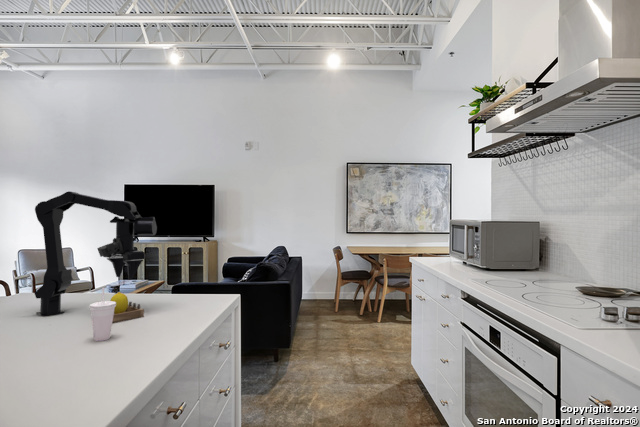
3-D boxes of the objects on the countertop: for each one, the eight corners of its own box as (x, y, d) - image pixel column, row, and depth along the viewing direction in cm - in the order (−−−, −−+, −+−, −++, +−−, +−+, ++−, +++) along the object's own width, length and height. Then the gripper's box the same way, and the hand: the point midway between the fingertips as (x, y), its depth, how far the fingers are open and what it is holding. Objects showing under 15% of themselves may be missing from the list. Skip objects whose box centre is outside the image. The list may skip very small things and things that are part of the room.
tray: (94, 318, 118) (94, 306, 118) (128, 311, 127) (128, 300, 127) (109, 324, 111) (109, 311, 111) (143, 316, 120) (143, 305, 120)
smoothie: (86, 343, 93) (88, 290, 93) (89, 336, 99) (91, 287, 99) (114, 340, 96) (116, 288, 96) (116, 333, 102) (117, 285, 102)
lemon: (119, 318, 116) (120, 294, 116) (105, 317, 117) (105, 293, 117) (131, 314, 121) (132, 291, 121) (117, 313, 122) (118, 290, 123)
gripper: (89, 235, 128) (88, 278, 127) (113, 236, 117) (112, 283, 116) (121, 234, 137) (120, 274, 136) (146, 235, 126) (145, 279, 125)
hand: (124, 278), depth 128 cm, fingers open, 9 cm apart
